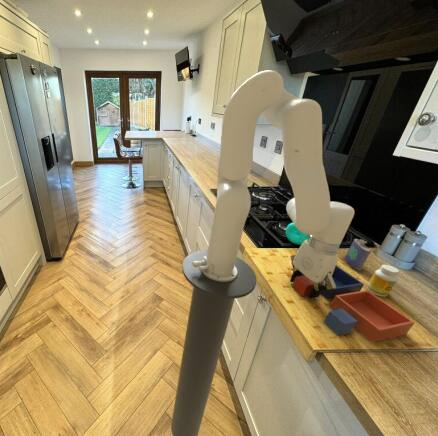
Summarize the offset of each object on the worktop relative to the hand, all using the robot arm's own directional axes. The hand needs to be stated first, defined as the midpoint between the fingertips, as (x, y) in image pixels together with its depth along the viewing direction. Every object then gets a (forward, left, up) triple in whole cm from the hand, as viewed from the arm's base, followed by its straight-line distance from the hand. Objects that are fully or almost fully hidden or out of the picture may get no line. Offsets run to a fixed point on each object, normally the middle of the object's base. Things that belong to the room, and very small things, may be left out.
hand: (303, 288), depth 77 cm
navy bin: (+11, +1, -1) cm, 11 cm away
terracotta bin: (+9, -13, -1) cm, 16 cm away
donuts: (+24, +27, -1) cm, 36 cm away
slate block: (-2, -14, -1) cm, 14 cm away
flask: (+32, +9, -1) cm, 33 cm away
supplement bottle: (+25, -5, -1) cm, 26 cm away
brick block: (0, 0, -1) cm, 1 cm away
